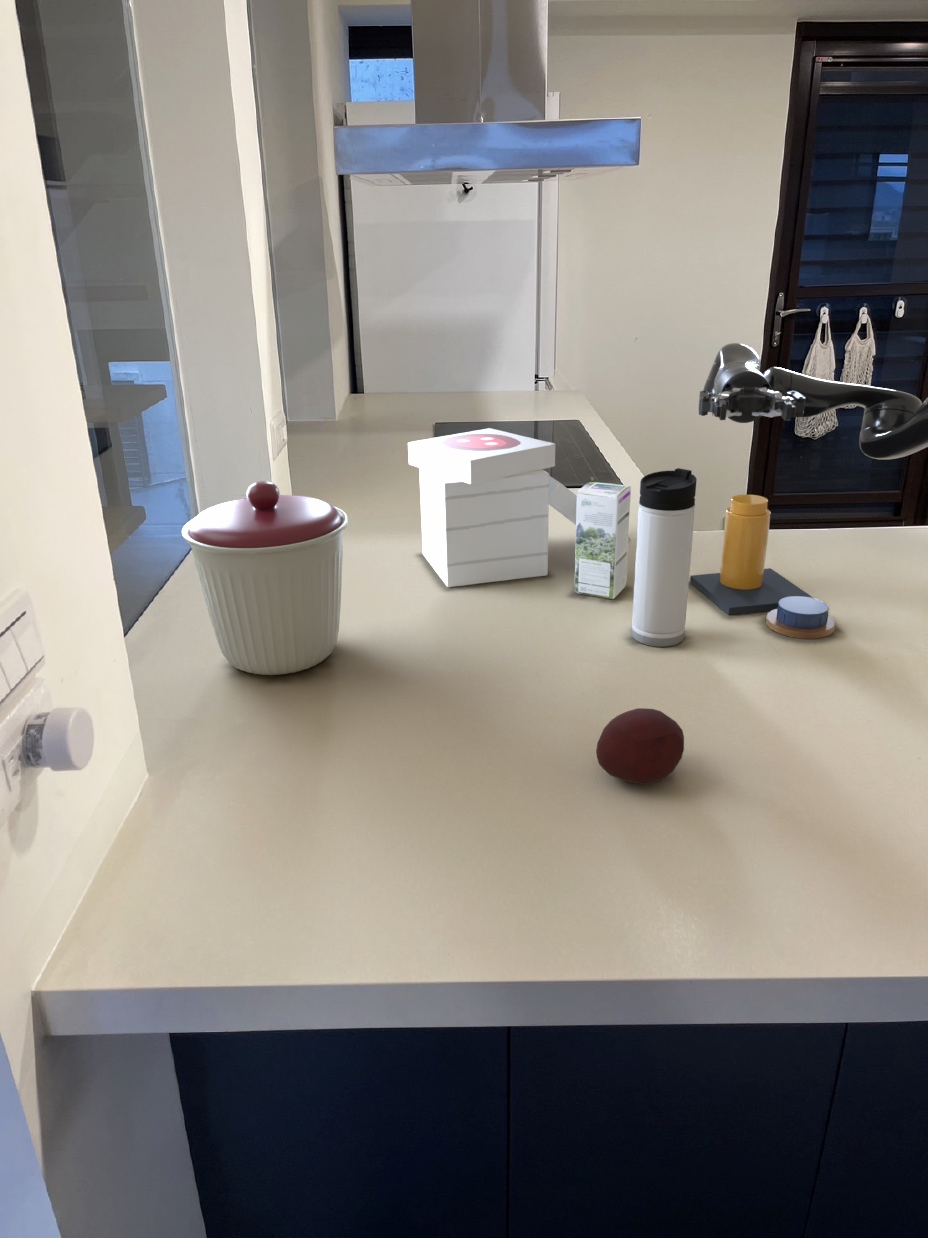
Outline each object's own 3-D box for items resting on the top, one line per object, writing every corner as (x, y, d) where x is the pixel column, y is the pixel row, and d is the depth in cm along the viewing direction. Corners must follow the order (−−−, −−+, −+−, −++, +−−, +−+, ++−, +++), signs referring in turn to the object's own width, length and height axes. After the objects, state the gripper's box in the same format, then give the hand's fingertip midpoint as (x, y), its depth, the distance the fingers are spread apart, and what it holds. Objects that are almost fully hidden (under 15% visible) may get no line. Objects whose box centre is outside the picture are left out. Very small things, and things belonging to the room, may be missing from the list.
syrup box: (627, 586, 125) (632, 483, 119) (613, 601, 120) (618, 495, 114) (588, 580, 127) (591, 479, 122) (572, 594, 123) (575, 490, 117)
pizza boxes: (636, 568, 131) (643, 445, 124) (436, 594, 124) (431, 464, 117) (584, 530, 148) (588, 419, 141) (405, 550, 141) (400, 434, 134)
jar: (749, 573, 126) (758, 491, 121) (770, 587, 121) (780, 503, 116) (712, 577, 125) (719, 495, 120) (731, 591, 120) (740, 506, 115)
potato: (702, 786, 80) (708, 727, 78) (619, 806, 78) (622, 746, 75) (658, 745, 87) (663, 690, 84) (580, 763, 84) (582, 706, 82)
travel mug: (696, 635, 110) (710, 473, 102) (664, 652, 106) (676, 484, 98) (652, 621, 114) (663, 464, 106) (621, 637, 110) (629, 475, 102)
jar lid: (791, 631, 108) (793, 616, 108) (767, 612, 114) (769, 598, 113) (836, 626, 109) (838, 611, 108) (810, 608, 114) (812, 594, 114)
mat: (769, 574, 128) (770, 567, 127) (815, 606, 117) (816, 599, 117) (689, 582, 126) (690, 575, 126) (728, 615, 115) (729, 607, 115)
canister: (330, 697, 97) (313, 508, 89) (174, 686, 100) (143, 502, 92) (376, 629, 113) (365, 463, 105) (240, 622, 117) (219, 460, 108)
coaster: (812, 610, 116) (813, 604, 116) (847, 635, 109) (848, 629, 108) (754, 615, 115) (754, 610, 114) (786, 641, 107) (787, 635, 107)
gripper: (696, 367, 137) (704, 384, 122) (794, 367, 135) (814, 384, 120) (692, 417, 140) (700, 439, 125) (788, 417, 138) (807, 441, 123)
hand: (756, 412), depth 123 cm, fingers open, 8 cm apart
